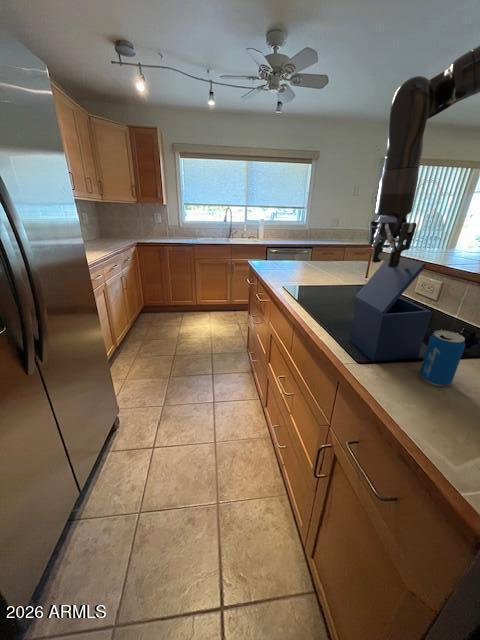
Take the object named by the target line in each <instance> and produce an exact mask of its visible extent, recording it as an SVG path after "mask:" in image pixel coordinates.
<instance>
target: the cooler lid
mask: <svg viewBox="0 0 480 640" xmlns="http://www.w3.org/2000/svg"><path fill="white" fill-rule="evenodd" d="M389 256H390V253H386V252H382V253H380V254H379V255H378V258H379V259H380V260H381V261H382V263H381V264H380V266H379V267H378V268H377V269H376V270H375V271H374V272H373V274H372V275H371V276H370V277H369V279H368V281H367V282H366V283H365V284H364V285H363V287H362V288H361V289H360V290H359V292H358V293H357V294H356V295H355V298H356V299H360V300H362V301H363V302H365V303H367V304H368V305H370V306H372V307H374V308H375V309H377V310H379V311H380V312H382V313H384V314H385V313H386V312H387V311H388V310H389V309H390V307H391V306H392V305H393V304H394V303H395V302H396V300H397V299H398V298H399V297H401V296H402V295H403V294H404V293H405V292H406V290H407V289H408V288H409V287H410V285H411V284H412V283H413V282H415V280H416V278H417V277H418V276H419V275H420V274H421V273H422V271H423V270H424V269H425V268H426V267H427V264H426V263H425V262H420V261H417V260H413V259H408V258H405V257H401V256H400V261H399V264H398V266H397V267H394V268H390V267H388V262H389Z"/></svg>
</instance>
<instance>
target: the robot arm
mask: <svg viewBox="0 0 480 640" xmlns="http://www.w3.org/2000/svg"><path fill="white" fill-rule="evenodd" d="M479 93H480V45H478V46H476V47H474V48H473V49H471V50H469V51H467V52H465V53H464V54H462V55H461V56H459V57H458V58H456V59H455V60H453V62H452V63H451V64H450V66H449V67H448V68H446V70H444V71H442V72H440V73H439V74H437V75H435V76H434V77H432V78H430V79H429V78H427V77H425V76H423V75H416V76H412V77H410V78H408V79H407V80H406V81H404V82H403V83H402V84H401V85H400V86H399V87H398V89H396V91H395V93H394V96H393V98H392V101H391V105H390V111H389V120H388V136H387V147H386V152H385V156H384V163H383V169H382V175H381V178H380V181H379V188H378V193H377V199H376V200H377V201H376V206H375V207H376V208H375V214H376V215H378V219H377V220H371V221H370V222H369V230H368V232H369V233H368V245H371V247H372V256H371V262H372V263H375V264H376V263H380V262H381V261H382V260H380V259H379V258H378V255H379V254H380V253H384V252H383V251H384V246H385V243H386V241H387V243H388V244H389V246H390V252H389V254H390V256H389V262H388V267H390V268H394V267H397V266H398V264H399V261H400V257H401V256H402V252H404V251H408V250H410V249H411V245H412V242H413V238H414V235H415V232H416V228H417V223H416V222H408V219H407V216H408V215H409V214H411V213H412V211H413V207H414V203H415V202H414V201H415V196H416V191H417V187H418V181H419V172H420V166H421V160H422V155H423V148H424V135H425V131H426V126H427V123H428V122H427V121H428V120H429V119H431V118H434V117H435V116H437V115H439V114H440V113H443V112H444V111H446V110H448V109H449V108H451V107H452V106H454V105H456V104H458V103H459V102H462V101H463V100H466V99H469V98H471V97H473V96H475V95H478V94H479Z"/></svg>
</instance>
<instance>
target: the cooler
mask: <svg viewBox="0 0 480 640" xmlns="http://www.w3.org/2000/svg"><path fill="white" fill-rule="evenodd" d="M432 313H433V311H431V310H430V309H427V308H425V307H423V306H421V305H418V304H416V303H414V302H412V301H410V300H408V299H405V298H403V297H401V296H400V297H399V298H398V299H397V300H396V302H395V303H394V304H393V305H392V306H391V307H390V309H389V310H388V311H387V312H386V313H385V314H384V313H382V312H380V311H379V310H377V309H375V308H374V307H372V306H370V305H368V304H367V303H365V302H363V301H362V300H360V299H358V298H356V299H355V305H354V310H353V315H352V316H353V318H352V322H351V328H350V333H349V341H350V342H351V343H352V344H353V345H354V346H355V347H356V348H357V349H358V350H359V351H360V352H362V353H363V354H364V355H365V356H366V358H368V359H370V361H372V362H373V363H374V362H383V361H393V360H395V361H396V360H404V359H414V358H419V356H420V353H421V349H422V345H423V344H424V340H425V337H426V332H427V329H428V326H429V323H430V319H431V315H432Z"/></svg>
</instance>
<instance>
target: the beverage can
mask: <svg viewBox="0 0 480 640" xmlns="http://www.w3.org/2000/svg"><path fill="white" fill-rule="evenodd" d="M465 340H466V338H465V337H464V336H463V335H461V334H459V333H457V332H454V331H450V330H442V329H441V330H435V331H434V332H433V333H432V334H431V335H430V337H429V339H428V343H427V346H426V350H425V353H424V355H423V358H422V359H423V360H422V363H421V366H420V369H419V376H420V377H421V378H422V379H423V380H424V381H425V382H426V383H428V384H430V385H433V386H437V387H444V386H449V385H451V384H452V383H453V381H454V377H455V375H456V373H457V369H458V367H459V365H460V361H461V359H462V356H463V353H464V350H465V347H466V342H465Z"/></svg>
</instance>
